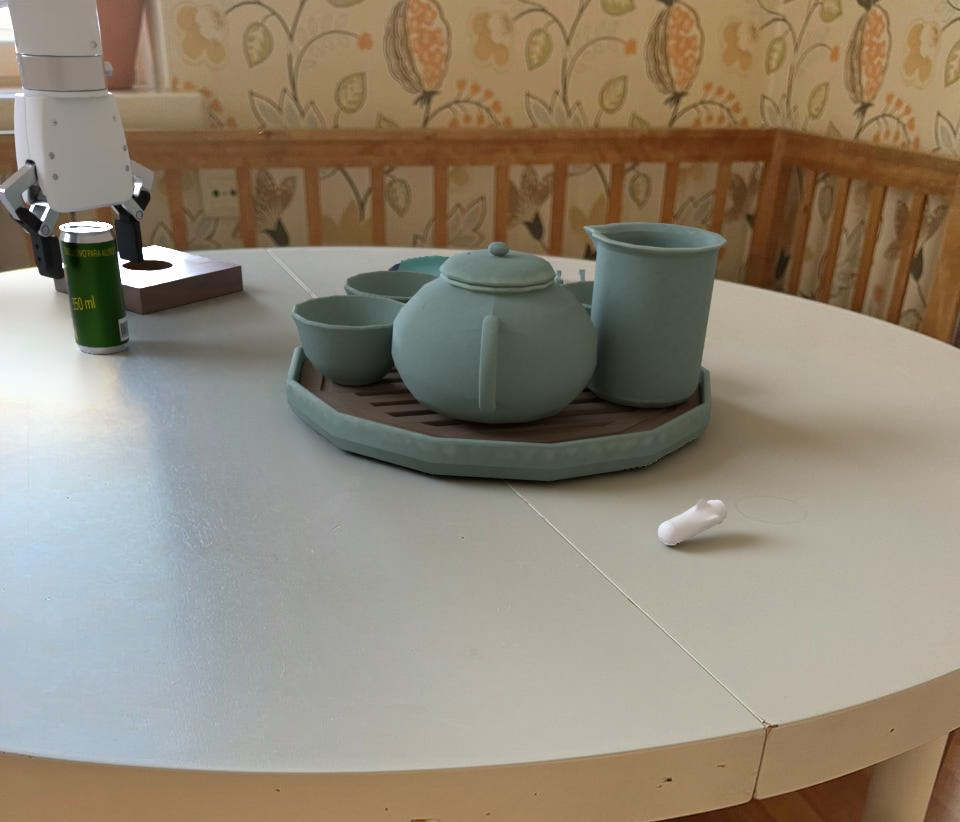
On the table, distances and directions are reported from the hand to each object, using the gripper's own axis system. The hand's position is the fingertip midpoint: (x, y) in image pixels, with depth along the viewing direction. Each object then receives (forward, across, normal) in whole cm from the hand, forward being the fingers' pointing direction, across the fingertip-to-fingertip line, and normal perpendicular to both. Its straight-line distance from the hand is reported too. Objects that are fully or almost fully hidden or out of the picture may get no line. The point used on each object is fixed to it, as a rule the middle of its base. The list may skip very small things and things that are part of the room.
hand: (93, 268), depth 106 cm
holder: (+8, -19, -15) cm, 26 cm away
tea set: (+8, -13, +41) cm, 44 cm away
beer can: (+8, 0, 0) cm, 8 cm away
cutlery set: (+8, -50, +17) cm, 53 cm away
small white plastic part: (+9, +2, +68) cm, 68 cm away
